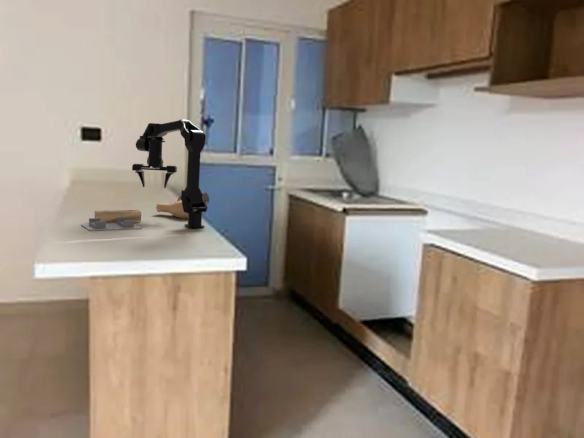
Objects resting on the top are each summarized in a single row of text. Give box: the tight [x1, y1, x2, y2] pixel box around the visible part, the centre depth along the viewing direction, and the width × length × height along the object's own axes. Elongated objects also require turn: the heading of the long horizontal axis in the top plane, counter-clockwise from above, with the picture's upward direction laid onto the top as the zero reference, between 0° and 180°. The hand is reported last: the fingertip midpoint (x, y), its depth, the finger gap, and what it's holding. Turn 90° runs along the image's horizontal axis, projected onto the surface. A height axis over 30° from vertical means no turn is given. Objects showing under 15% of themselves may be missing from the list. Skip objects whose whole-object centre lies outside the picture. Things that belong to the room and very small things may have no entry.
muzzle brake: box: [176, 190, 210, 207], centre depth 268 cm, size 10×28×10 cm, turn 174°
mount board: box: [80, 217, 143, 232], centre depth 216 cm, size 13×20×3 cm, turn 125°
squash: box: [155, 200, 188, 219], centre depth 250 cm, size 11×20×9 cm, turn 76°
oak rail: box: [94, 209, 142, 224], centre depth 228 cm, size 4×18×5 cm, turn 121°
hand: (154, 187), depth 242 cm, fingers open, 9 cm apart
